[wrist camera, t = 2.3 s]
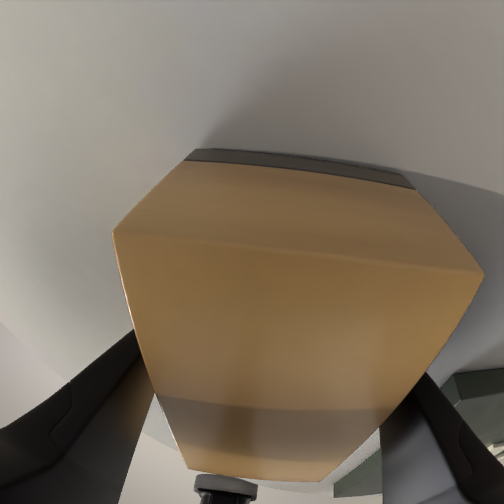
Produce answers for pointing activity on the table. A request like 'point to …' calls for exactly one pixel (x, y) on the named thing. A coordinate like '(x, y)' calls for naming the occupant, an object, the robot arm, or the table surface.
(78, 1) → the table surface
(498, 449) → the grey square tile
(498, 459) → the pale grey flat square
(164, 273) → the tan rectangular block
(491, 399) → the chalkboard
